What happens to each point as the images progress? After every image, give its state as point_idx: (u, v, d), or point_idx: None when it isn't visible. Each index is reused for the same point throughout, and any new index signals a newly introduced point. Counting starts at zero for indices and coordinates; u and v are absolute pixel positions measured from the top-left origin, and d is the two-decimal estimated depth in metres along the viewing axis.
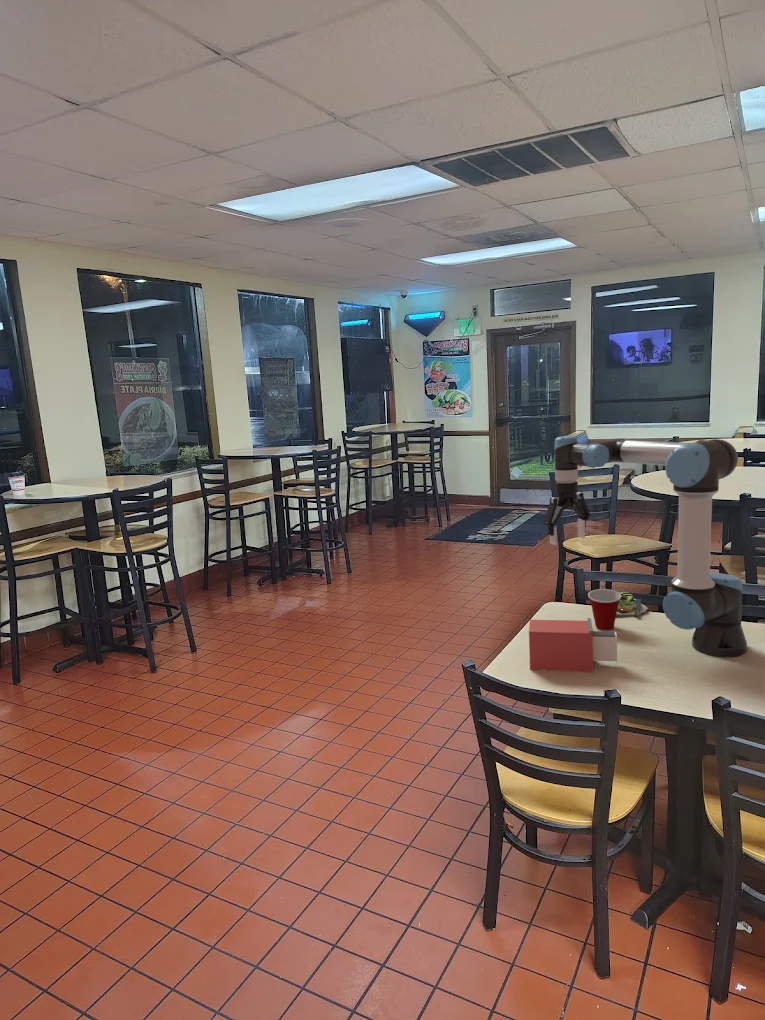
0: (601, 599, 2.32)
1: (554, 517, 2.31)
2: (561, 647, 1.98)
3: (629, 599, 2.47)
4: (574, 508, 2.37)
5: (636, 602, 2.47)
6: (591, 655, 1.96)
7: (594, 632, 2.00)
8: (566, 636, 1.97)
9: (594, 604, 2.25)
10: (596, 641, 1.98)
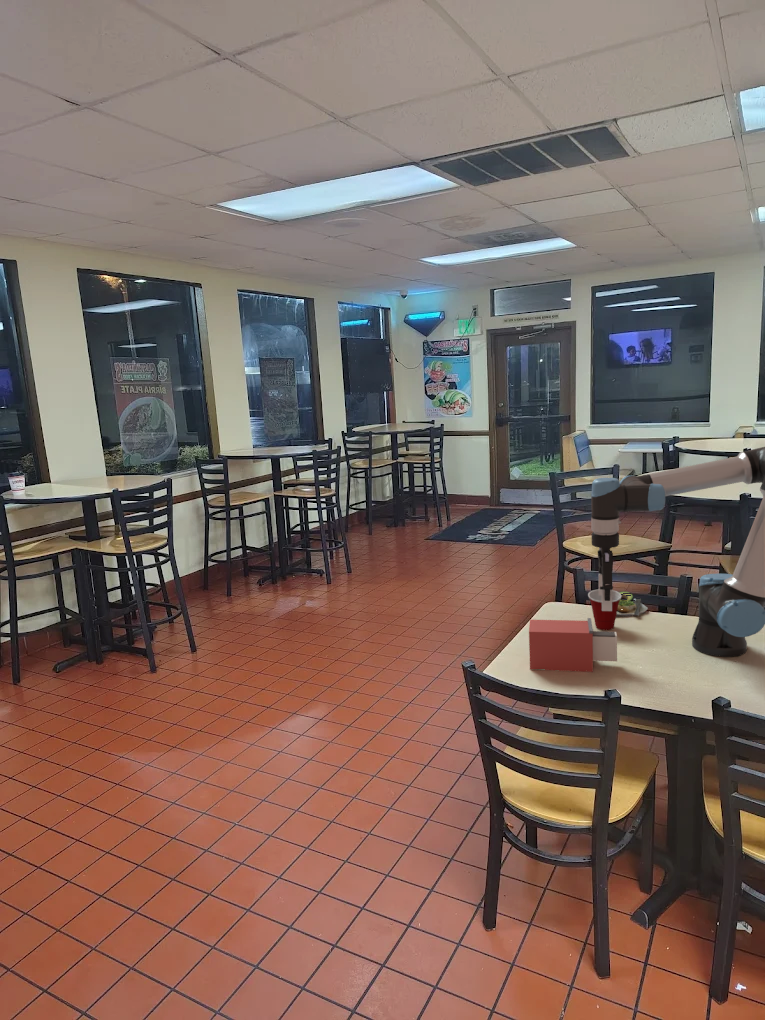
0: (601, 599, 2.32)
1: None
2: (561, 647, 1.98)
3: (629, 599, 2.47)
4: None
5: (636, 602, 2.47)
6: (591, 655, 1.96)
7: (594, 632, 2.00)
8: (566, 636, 1.97)
9: (594, 604, 2.25)
10: (596, 641, 1.98)
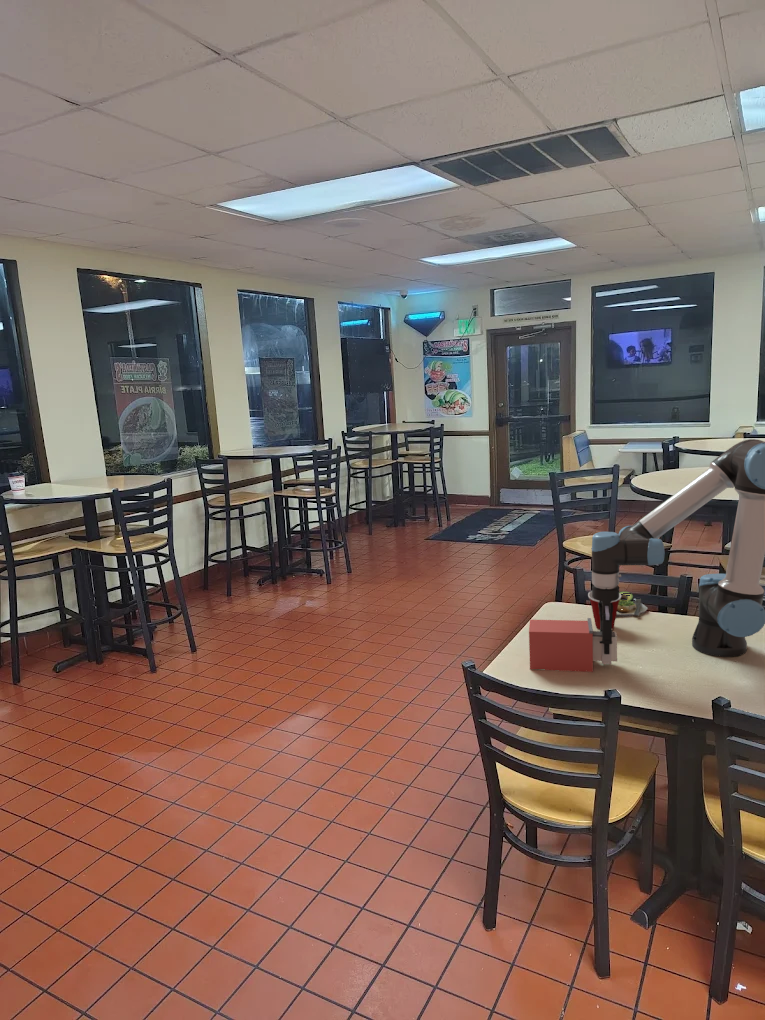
0: None
1: None
2: (561, 647, 1.98)
3: (629, 599, 2.47)
4: None
5: (636, 602, 2.47)
6: (591, 655, 1.96)
7: (594, 632, 2.00)
8: (566, 636, 1.97)
9: (594, 604, 2.25)
10: (596, 641, 1.98)
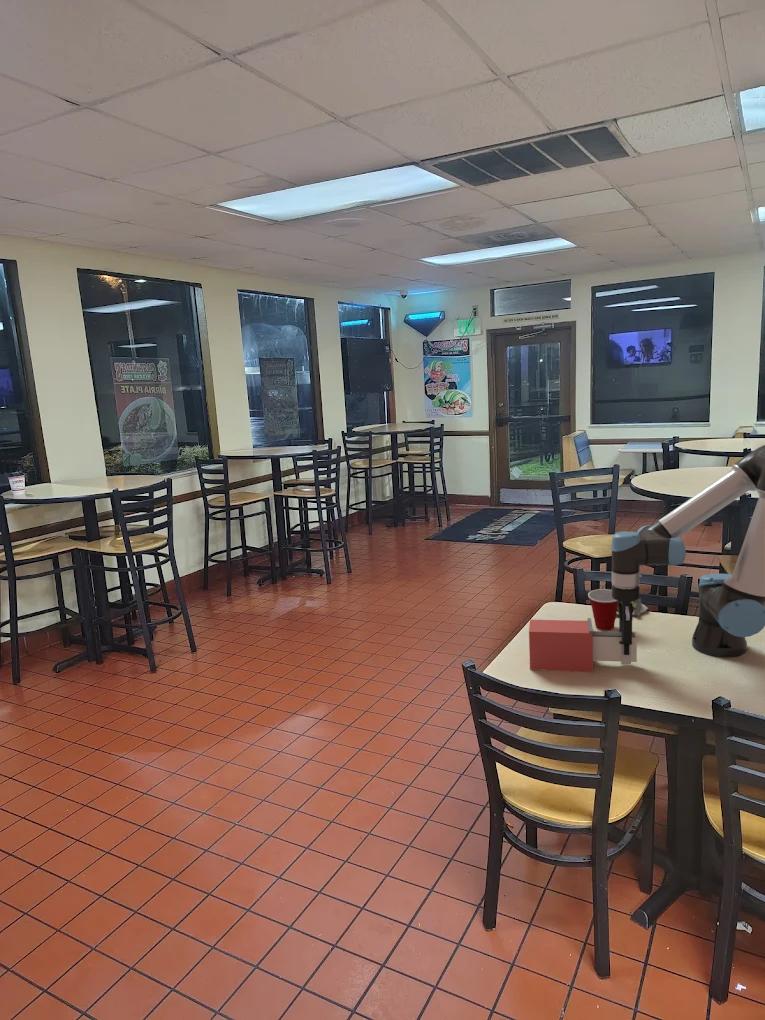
0: (601, 599, 2.32)
1: None
2: (561, 647, 1.98)
3: None
4: None
5: (636, 602, 2.47)
6: (591, 655, 1.96)
7: (613, 632, 1.99)
8: (566, 636, 1.97)
9: (594, 604, 2.25)
10: (615, 641, 1.97)
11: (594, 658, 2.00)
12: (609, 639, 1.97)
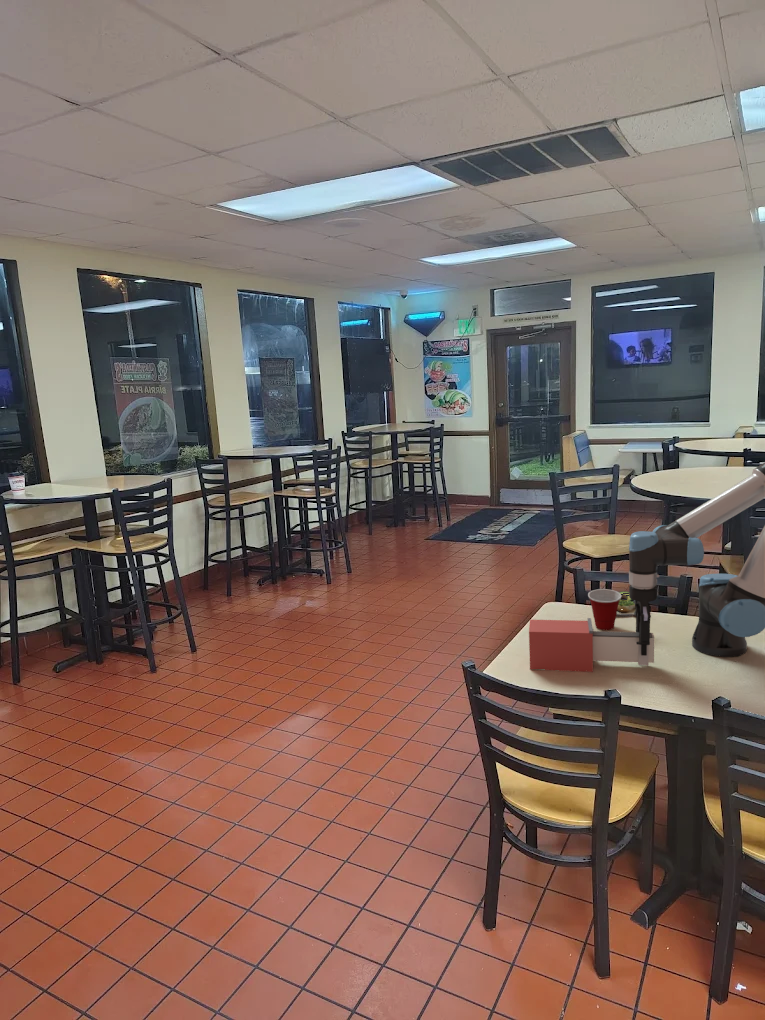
0: (601, 599, 2.32)
1: None
2: (561, 647, 1.98)
3: (629, 599, 2.47)
4: None
5: None
6: (591, 655, 1.96)
7: (630, 633, 1.98)
8: (566, 636, 1.97)
9: (594, 604, 2.25)
10: (632, 642, 1.96)
11: (611, 659, 1.98)
12: (626, 639, 1.96)
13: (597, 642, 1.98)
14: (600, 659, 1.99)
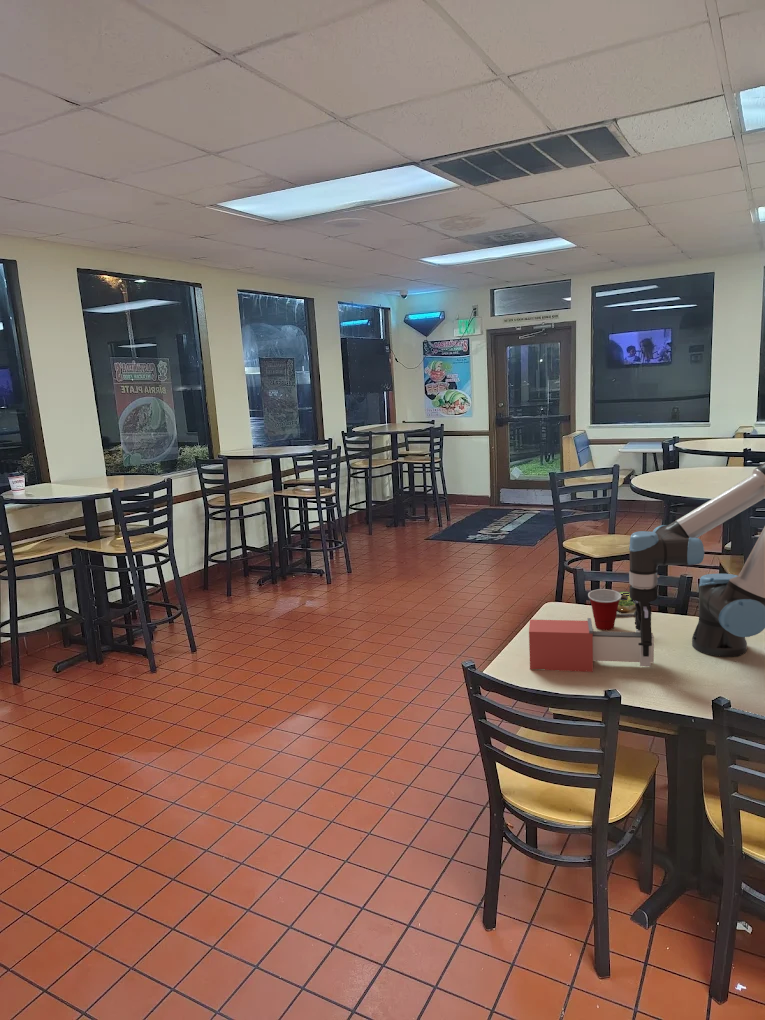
0: (601, 599, 2.32)
1: None
2: (561, 647, 1.98)
3: (629, 599, 2.47)
4: None
5: None
6: (591, 655, 1.96)
7: (630, 633, 1.98)
8: (566, 636, 1.97)
9: (594, 604, 2.25)
10: (632, 642, 1.96)
11: (610, 659, 1.98)
12: (626, 639, 1.96)
13: (597, 642, 1.98)
14: (600, 659, 1.99)
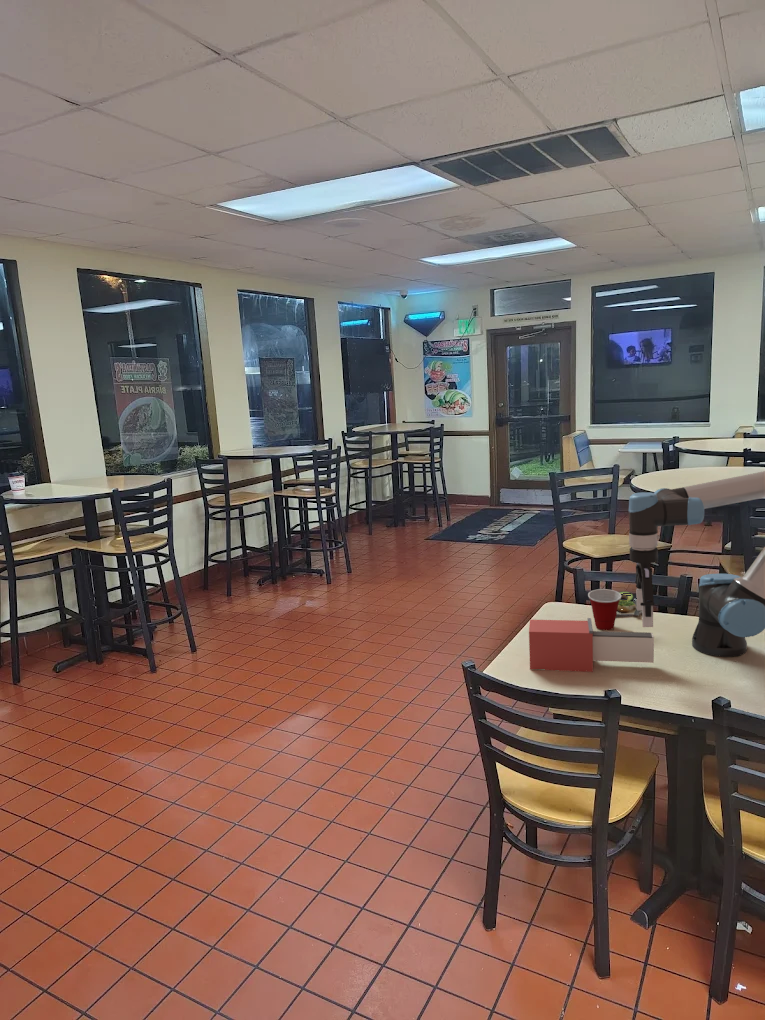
0: (601, 599, 2.32)
1: None
2: (561, 647, 1.98)
3: (629, 599, 2.47)
4: None
5: (636, 602, 2.46)
6: (591, 655, 1.96)
7: (630, 633, 1.98)
8: (566, 636, 1.97)
9: (594, 604, 2.25)
10: (632, 642, 1.96)
11: (610, 659, 1.98)
12: (626, 639, 1.96)
13: (597, 642, 1.98)
14: (600, 659, 1.99)
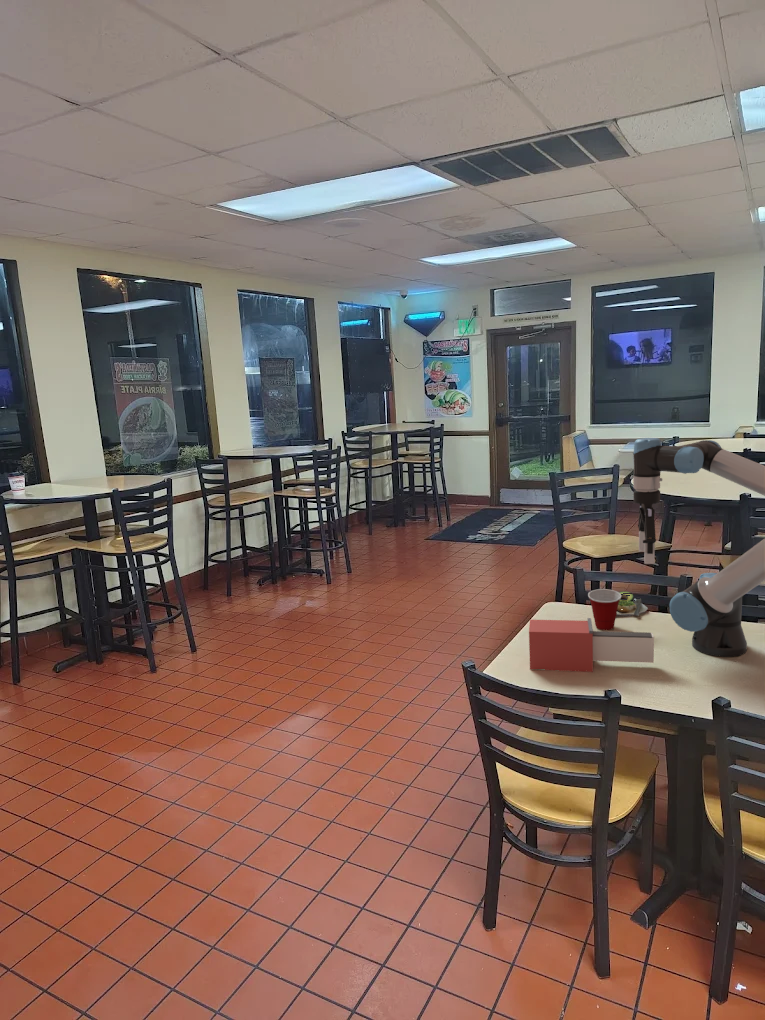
0: (601, 599, 2.32)
1: None
2: (561, 647, 1.98)
3: (629, 599, 2.47)
4: None
5: (636, 602, 2.46)
6: (591, 655, 1.96)
7: (630, 633, 1.98)
8: (566, 636, 1.97)
9: (594, 604, 2.25)
10: (632, 642, 1.96)
11: (610, 659, 1.98)
12: (626, 639, 1.96)
13: (597, 642, 1.98)
14: (600, 659, 1.99)
